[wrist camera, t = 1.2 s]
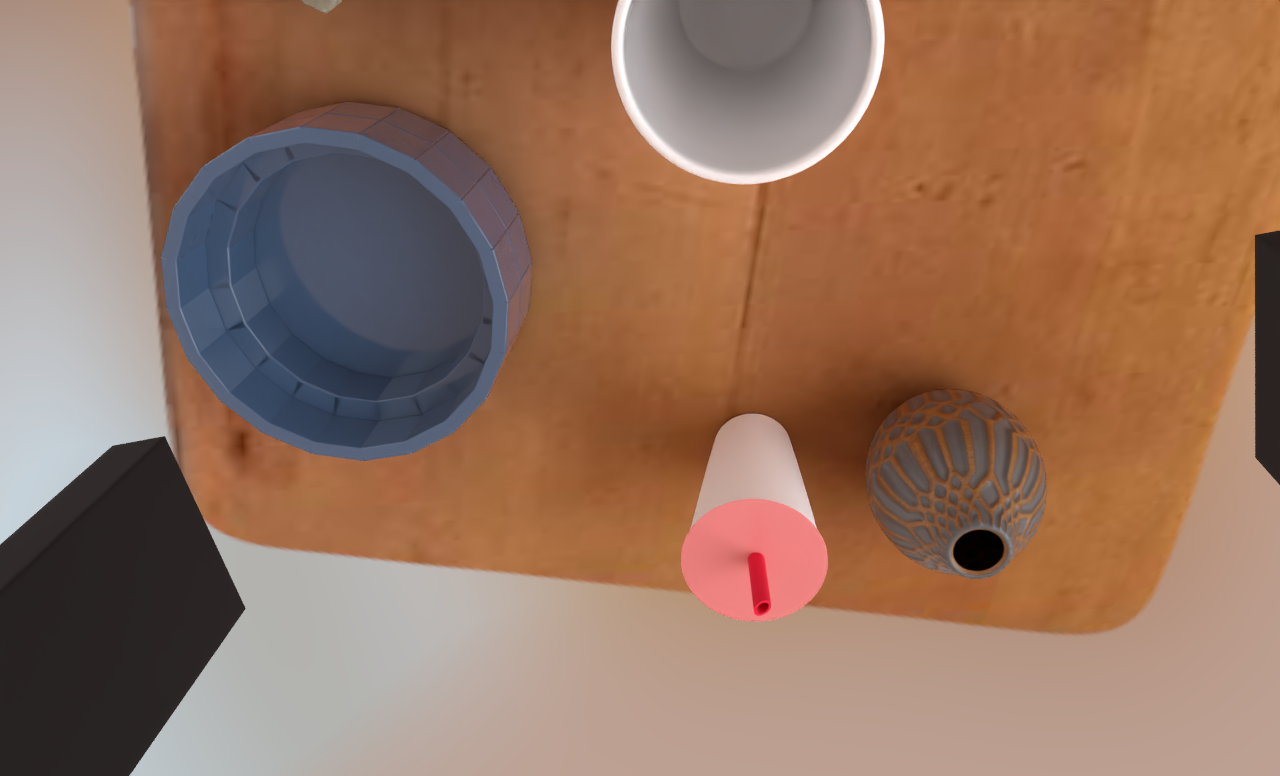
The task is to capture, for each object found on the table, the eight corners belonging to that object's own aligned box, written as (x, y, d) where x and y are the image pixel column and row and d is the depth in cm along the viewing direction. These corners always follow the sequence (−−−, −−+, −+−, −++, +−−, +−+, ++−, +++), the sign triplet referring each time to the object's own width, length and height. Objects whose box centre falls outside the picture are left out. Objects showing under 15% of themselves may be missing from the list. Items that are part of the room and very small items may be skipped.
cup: (830, 412, 46) (856, 572, 35) (790, 512, 48) (804, 692, 37) (711, 378, 46) (701, 529, 35) (677, 481, 48) (657, 652, 37)
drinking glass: (868, -69, 38) (936, -47, 24) (799, 114, 41) (825, 224, 27) (687, -132, 38) (655, -146, 24) (631, 57, 40) (574, 140, 27)
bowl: (272, 43, 41) (207, 64, 36) (582, 186, 43) (560, 225, 38) (195, 326, 47) (130, 378, 42) (471, 445, 48) (440, 508, 43)
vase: (921, 533, 48) (956, 660, 40) (825, 430, 46) (842, 541, 38) (1053, 447, 46) (1118, 564, 38) (958, 334, 44) (1004, 432, 36)
